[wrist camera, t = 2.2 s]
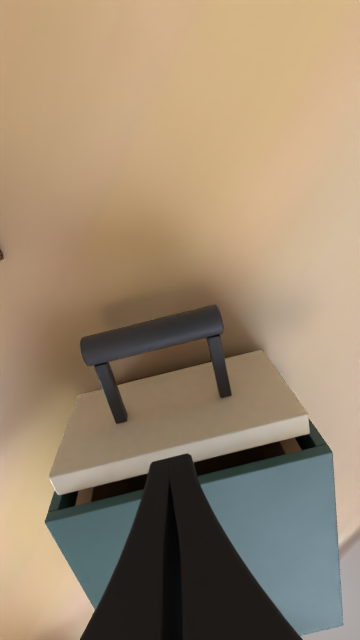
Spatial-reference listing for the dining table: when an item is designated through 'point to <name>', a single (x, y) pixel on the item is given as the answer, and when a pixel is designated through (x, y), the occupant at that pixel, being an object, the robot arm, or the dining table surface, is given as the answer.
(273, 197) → the dining table surface
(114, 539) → the cabinet
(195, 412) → the drawer
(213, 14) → the dining table surface
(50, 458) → the dining table surface
